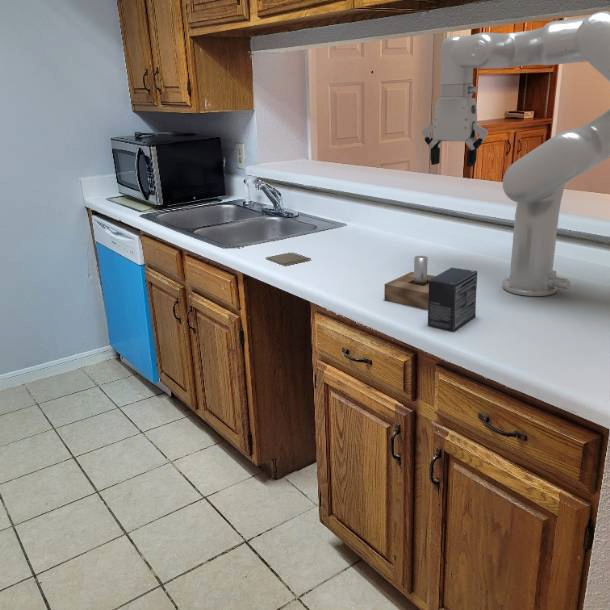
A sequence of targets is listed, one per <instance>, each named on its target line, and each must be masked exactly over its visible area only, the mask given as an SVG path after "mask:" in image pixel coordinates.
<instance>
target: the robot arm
mask: <svg viewBox="0 0 610 610" xmlns="http://www.w3.org/2000/svg"><path fill="white" fill-rule="evenodd" d="M440 51H441V54H440V76H439V77H440V79H439V81H440V83H439V84H440V85H439V98H438V99H437V101H436V104H435V109H434V116H433V121H432V124H431V125H429V126H427V127H425V128H423V129H422V130H421V133H422V135H423V138H424V141H425V143H426V144H427V146H428V148H429V149H430V164H431V165H432V166H434V165H439V164H440V160H441V147H439V145H440V144H441V143H442V142H459V143H460V142H463V143H465V144H466V146H467V147H468V150H467V151H466V163H465V164H466V165H465V166H466V167H467V168H471V167H474V166H475V164H476V162H477V154H478V153H477V151H478V149H479V148H480V147H481V146H482V145H483V143H485V140H486V138H487V137H488V135H489V130H488V129H486V128H484V127H483V126H481V125H480V124H478V108H477V101H476V98H475V97H473V96H474V94H476V93H477V92H478V87H477V86H474V84H473V80H474V69H481V70H482V69H485V70H486V69H505V68H514V67H515V68H516V67H527V66H536V65H539V66H540V65H541V66H553V65H555V66H556V65H563V64H574V63H583V62H586V63H587V62H588V64H590V65H591V67H593V68H594V69H595V70H596V71H597V72H598V73H600V74H601V75H602V76H603V78H605V79H606V80H607V81H608V82H609V83H610V11H607V10H605V11H603V10H602V11H596V12H595V13H593V14H590V15H589V16H587V17H578V18H572V19H563V20H554V21H550V22H548V23H546V24H545V25H544V26H542V27H539V28H536V29H531V30H524V31H516V32H506V33H501V32H488V31H487V32H478V33H474V34H470V35H455V36H448V37H445V38H444V39H443V41H442V42H441V50H440ZM472 97H473V98H472ZM431 132H432V136H431ZM478 134H479V136H478ZM477 136H478V138H477ZM432 137H433V138H432ZM609 158H610V108H609V109H607V111H605V112H603V113H602V114H600V115H598V116H597V117H596V118H594V119H593V120H591V121H589V122H588V123H586V124H584V125H582V126H578V127H575V128H570V129H567V130H563V131H562V132H559V133H557V134H555V135H554V136H553V137H551V138H549V139H548V140H545V141H544V142H543V143H542V144H540V145H538V146H537V147H536V148H534V149H532V150H531V151H530V152H527V153H526V154H524V155H523V156H522V157H520V158H519V159H516V161H514V162H513V163H512V164H511V165H509V166H508V168H507V169H506V171H505V172H504V174H503V178H502V189H503V192H504V194H505V195H506V197H507V198H508V199H510V200H511V201H513V202H515V203H516V208H515V212H514V213H515V214H514V224H513V234H512V235H513V236H512V249H511V259H510V261H511V262H510V273H509V277H508V278H505V279H504V280H503V281H502V288H503V289H504V290H505V291H507V292H509V293H512V294H514V295H519V296H527V297H528V296H529V297H544V296H549V295H554V294H555V293H557V292H558V290H559V289H564V290H568V289H570V285H571V284H570V283H571V282H570V280H568V278H566V277H558V275H557V273H558V272H557V270H554V261H555V253H556V242H557V241H556V240H557V233H558V226H559V217H560V210H561V203H562V199H563V194H564V191H565V186H566V184H567V183H568V182H570V181H571V180H574V179H575V178H577V177H579V176H581V175H583V174H585V173H588V172H590V171H592V170H594V169H595V168H597V167H598V166H599V165H601V164H602V163H603V162H605V161H606V160H608V159H609ZM558 288H559V289H558Z"/></svg>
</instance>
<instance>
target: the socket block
mask: <svg viewBox="0 0 610 610" xmlns="http://www.w3.org/2000/svg"><path fill="white" fill-rule="evenodd" d="M435 276H436V275H431V274H427V285H425V286H420V285H415V284H414V271H410V272H408V273H406V274H404V275H402V276H398V277H397V278H395V279H393V280H390V281H388V282H386V283H385V284H384V292H383V293H384V297H383V298H384V301H386V302H390V303H394V304H395V303H396V304H399V305H403V306H408V307H413V308H417V309H421V310H427V311H428V294H429V279H431V278H433V277H435Z"/></svg>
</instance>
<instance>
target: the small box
mask: <svg viewBox="0 0 610 610" xmlns="http://www.w3.org/2000/svg"><path fill="white" fill-rule="evenodd" d="M434 276H435V277H433V278H431V279H429V294H428V310H427V327H431V328H434V329H438V330H442V331H448V332H453V333H455V332H456V331H457V330H459V329H460V328H461V327H463V326H465V325H466V324H467V323H468V322H470V321H472V320H473V319H475V318H476V313H477V312H476V311H477V310H476V308H477V306H476V305H477V284H478V282H477V281H478V270H473V269H466V268H464V269H463V268H458V267H450V268H448V269H446V270H443V272H441V273H439V274H436V275H434Z"/></svg>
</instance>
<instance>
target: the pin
mask: <svg viewBox="0 0 610 610" xmlns="http://www.w3.org/2000/svg"><path fill="white" fill-rule="evenodd" d="M413 258H414V259H413V262H414V263H413V265H414V266H413V269H414V270H413V272H414V284H415V285H420V286H425V285H427V275H428V261H429V260H428V256H426V255H416V256H414V257H413Z"/></svg>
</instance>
